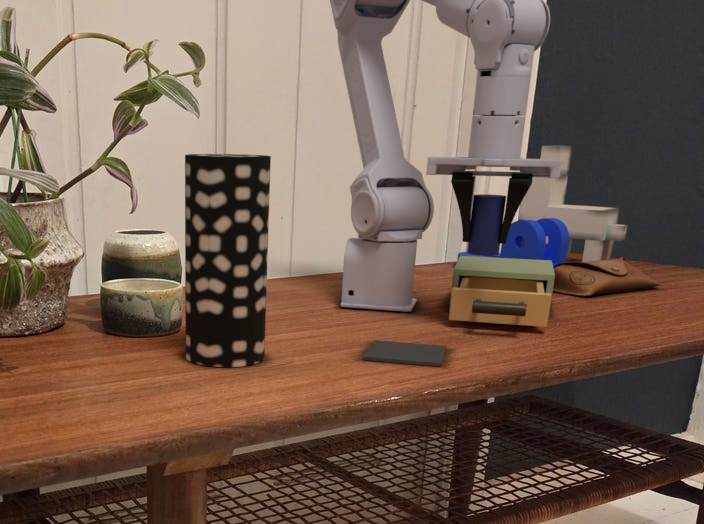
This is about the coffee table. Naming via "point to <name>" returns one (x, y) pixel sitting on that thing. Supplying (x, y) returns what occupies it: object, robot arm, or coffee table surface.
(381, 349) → the mat
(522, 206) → the toy llama
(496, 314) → the drawer
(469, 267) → the cabinet
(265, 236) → the white-spotted black cylinder
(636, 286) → the sunglasses case
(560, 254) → the bracket
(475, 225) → the dark blue cylinder
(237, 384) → the coffee table surface
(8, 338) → the coffee table surface
